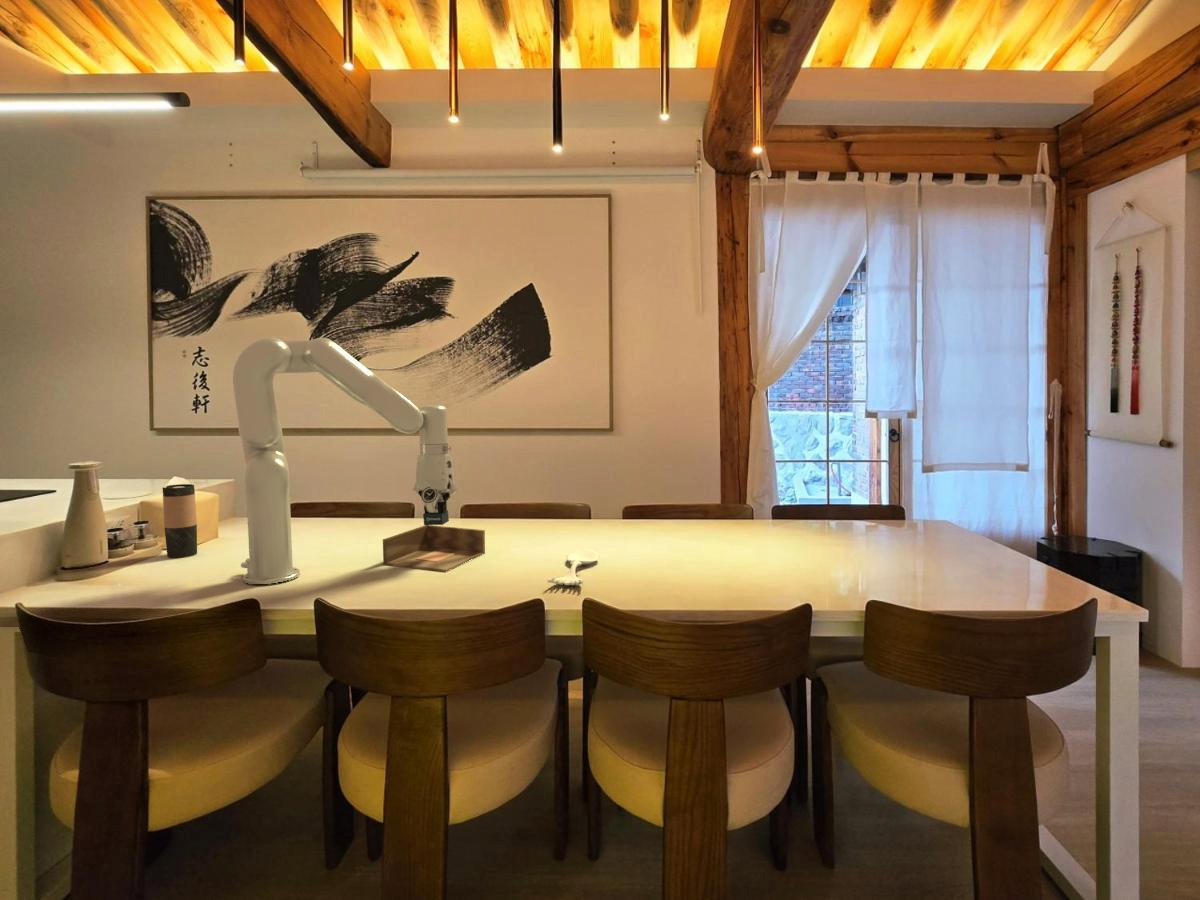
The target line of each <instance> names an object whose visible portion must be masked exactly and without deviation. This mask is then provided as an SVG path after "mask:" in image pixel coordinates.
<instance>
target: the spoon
mask: <svg viewBox="0 0 1200 900" xmlns="http://www.w3.org/2000/svg"><path fill="white" fill-rule="evenodd" d="M599 559H600V555H599V553H598V552H596V551H594V550H592V549H583V548H582V549H578V550H574V551H572V552H570V553H568V555H567V556H566V560H567V561H568V562H569V564H570V565H571V566H570V569H569V570H568V573H566V575H565V576H561V577H557V578H550V577H548V578H547V583H548V584H550V583H551V584H555V585H557V584H558V585H559V586H561V585H562V586H577V585H583V584H584V580H583V579H581V578H579V577H577V575H576V569H577V567H580V566H582V565H581V564H583V565H590V564H592V563H595V562H597V561H598V560H599ZM563 584H564V585H563Z"/></svg>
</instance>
